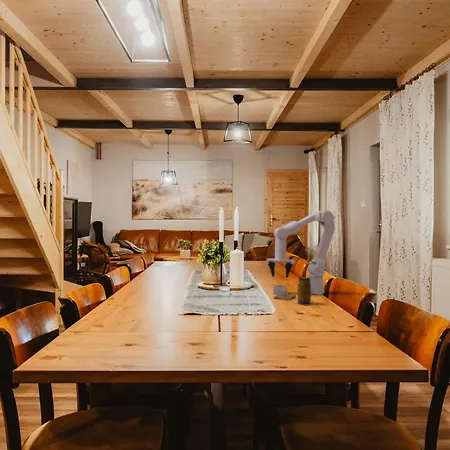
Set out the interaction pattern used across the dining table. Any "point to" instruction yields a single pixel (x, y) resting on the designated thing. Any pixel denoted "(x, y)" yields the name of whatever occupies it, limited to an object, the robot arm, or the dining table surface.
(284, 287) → the block with square hole
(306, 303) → the condiment
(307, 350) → the dining table surface
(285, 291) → the block
